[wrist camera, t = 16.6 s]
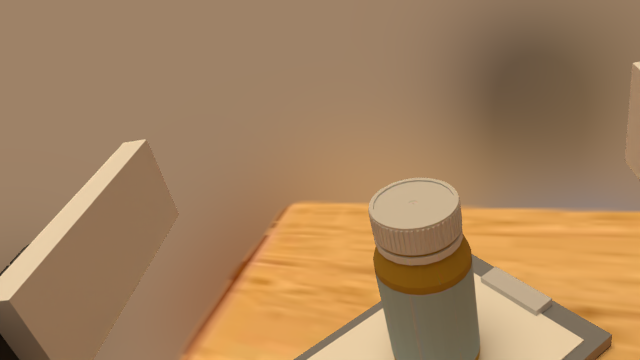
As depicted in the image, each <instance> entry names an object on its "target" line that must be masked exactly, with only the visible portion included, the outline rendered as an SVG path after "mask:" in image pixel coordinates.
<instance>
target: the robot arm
mask: <svg viewBox="0 0 640 360" xmlns="http://www.w3.org/2000/svg"><path fill="white" fill-rule="evenodd" d="M625 161H626V163H627V164H628V165H629V167H630V168H631V170H632V171H633V172H634V174H635V175H636V176H637V177H638V179H639V180H640V62H636V63H633V64H632V78H631V90H630V103H629V116H628V128H627V142H626V155H625ZM178 216H179V213H178V211H177V208H176V206H175V204H174V201H173V199H172V197H171V194H170V192H169V190H168V188H167V185H166V183H165V181H164V178H163V176H162V174H161V171H160V169H159V167H158V165H157V162H156V160H155V158H154V155H153V153H152V151H151V148H150V146H149V144H148V141H147V140H146V139H145V140H139V141H132V142H127V143H123V144H122V145H121V146H120V147H119V148H118V150H117V151H116V152H115V153H114V154H113V155H112V156H111V157H110V158H109V159H108V160H107V161H106V163H105V164H104V165H103V166H102V167H101V168H100V169H99V170H98V171H97V172H96V174H94V176H93V177H92V178H91V179H90V180H89V181H88V182H87V183H86V184H85V185H84V186H83V188H82V189H81V190H80V191H79V192H78V193H77V194H76V195H75V196H74V197H73V198H72V199H71V200H70V201H69V203H68V204H67V205H66V206H65V207H64V208H63V209H62V210H61V211H60V212H59V213H58V215H57V216H56V217H55V218H54V219H53V220H52V221H51V222H50V223H49V224H48V225H47V226H46V227H45V228H44V230H43V231H42V232H41V233H40V234H39V235H38V236H37V237H36V239H34V241H33V242H32V243H30V244H29V245H27V246H26V247H25V248H23V249H22V250H21V252H20V253H19V254H18V255H17V256H16V257H15V258H14V259H13V260H12V261H11V262H10V265H9V266H6V268H5V269H4V270H3V271H2V272H1V273H0V360H93V359H94V358H95V356H96V354H97V353H98V351H99V349H100V347H101V346H102V344H103V342H104V341H105V339H106V337H107V336H108V334H109V332H110V330H111V329H112V327H113V326H114V324H115V322H116V320H117V319H118V317H119V315H120V314H121V312H122V310H123V309H124V307H125V305H126V304H127V302H128V300H129V298H130V297H131V295H132V293H133V292H134V290H135V288H136V287H137V285H138V283H139V282H140V280H141V278H142V277H143V275H144V273H145V272H146V270H147V268H148V266H149V265H150V263H151V261H152V260H153V258H154V256H155V254H156V253H157V251H158V249H159V248H160V246H161V244H162V243H163V241H164V239H165V237H166V236H167V234H168V233H169V231H170V229H171V228H172V226H173V224H174V223H175V221H176V219H177V217H178Z"/></svg>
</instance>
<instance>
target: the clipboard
mask: <svg viewBox="0 0 640 360" xmlns="http://www.w3.org/2000/svg"><path fill="white" fill-rule="evenodd" d="M471 255H472V254H471ZM472 262H473V272H474V283H475V293H476V303H477V314H478V324H479V335H480V356H479V359H478V360H595V359H596V358H597V357H599V356H600V355H601V354H602V353H603V352H604V351H605V350H606V349H607V348H609V347H610V346H611V340H612V335H611V334H610V333H608V332H606V331H605V330H603V329H601V328H599V327H598V326H596V325H594V324H592V323H591V322H589V321H587V320H585V319H584V318H582V317H580V316H578V315H577V314H575V313H573V312H571V311H570V310H568V309H566V308H564V307H563V306H561V305H559V304H558V303H556V302H554V301H552V298H550V297H548V296H546V295H545V294H543V293H541V292H539V291H538V290H536V289H534V288H532V287H531V286H529V285H527V284H525V283H524V282H522V281H520V280H518V279H517V278H515V277H513V276H511V275H510V274H508V273H506V272H504V271H503V270H501V269H499V268H497V267H493V266H491V265H490V264H488V263H486V262H484V261H483V260H481V259H479V258H477V257H476V256H474V255H472ZM294 360H395V358H394V355H393V352H392V347H391V342H390V338H389V333H388V329H387V324H386V319H385V315H384V310H383V306H382V301H381V302H379V303H378V304H376V305H375V306H373V307H372V308H370V309H369V310H367V311H366V312H364V313H363V314H361V315H360V316H358V317H357V318H355V319H354V320H352V321H351V322H349V323H348V324H346V325H345V326H343V327H342V328H340V329H339V330H337V331H336V332H334V333H333V334H331V335H330V336H328V337H327V338H325V339H324V340H322V341H321V342H319V343H318V344H316V345H315V346H313V347H312V348H310V349H309V350H307V351H306V352H304V353H303V354H301V355H300V356H298V357H297V358H295V359H294Z"/></svg>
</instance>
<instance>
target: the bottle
mask: <svg viewBox="0 0 640 360" xmlns="http://www.w3.org/2000/svg"><path fill="white" fill-rule="evenodd" d="M368 211H369V217H370V222H371V226H372V231H373V235H374V240H375V244H376V248H375V252H374V257H373V260H374V267H375V273H376V278H377V283H378V287H379V292H380V296H381V301H382V306H383V310H384V315H385V319H386V324H387V329H388V333H389V338H390V342H391V347H392V352H393V355H394V358H395V360H478V359H479V356H480V335H479V324H478V314H477V303H476V293H475V283H474V272H473V262H472V255H471V249H470V246H469V244H468V242H467V240H466V238H465V236H464V235H463V232H462V215H461V206H460V198H459V196H458V193H457V192H456V190H455V189H454V188H453V187H452V186H451V185H449V184H447V183H446V182H443V181H440V180H437V179H431V178H411V179H405V180H401V181H398V182H394V183H392V184H390V185H388V186H386V187H384V188H383V189H381V190H379V191H378V192H377V193H376V194H375V195H374V196H373V197H372V199H371V201H370V204H369V210H368Z"/></svg>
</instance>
